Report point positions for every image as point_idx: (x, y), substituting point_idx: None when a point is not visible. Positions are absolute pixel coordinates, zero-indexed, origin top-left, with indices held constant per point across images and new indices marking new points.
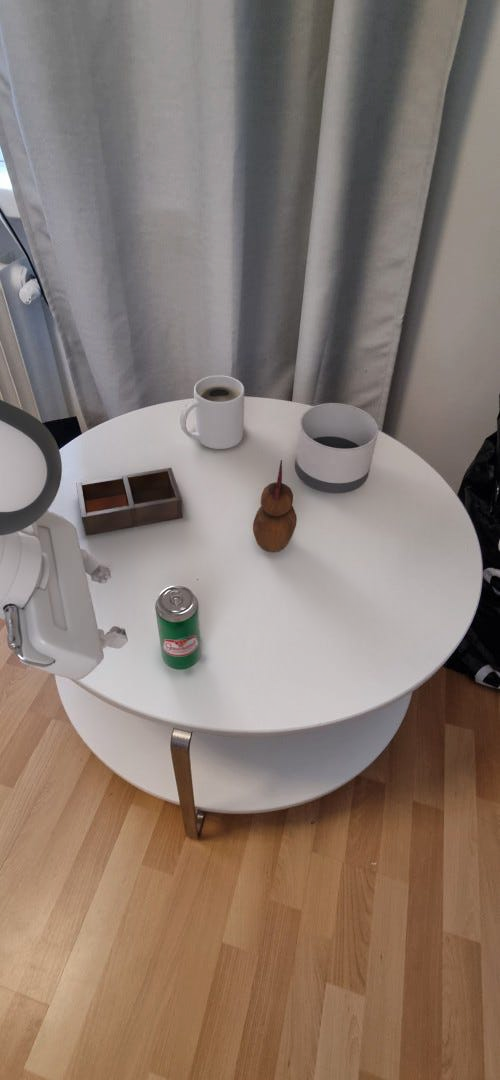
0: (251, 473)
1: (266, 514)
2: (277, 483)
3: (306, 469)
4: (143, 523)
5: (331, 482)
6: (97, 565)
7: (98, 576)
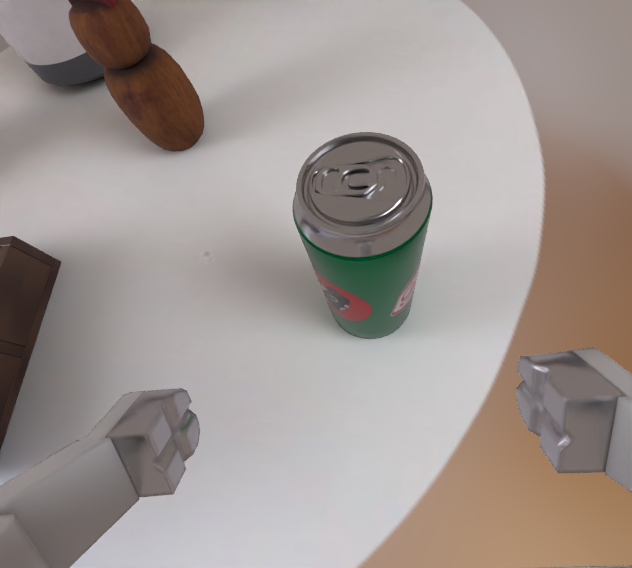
0: (34, 149)
1: (135, 70)
2: None
3: (72, 47)
4: (31, 334)
5: None
6: (102, 447)
7: (166, 452)
